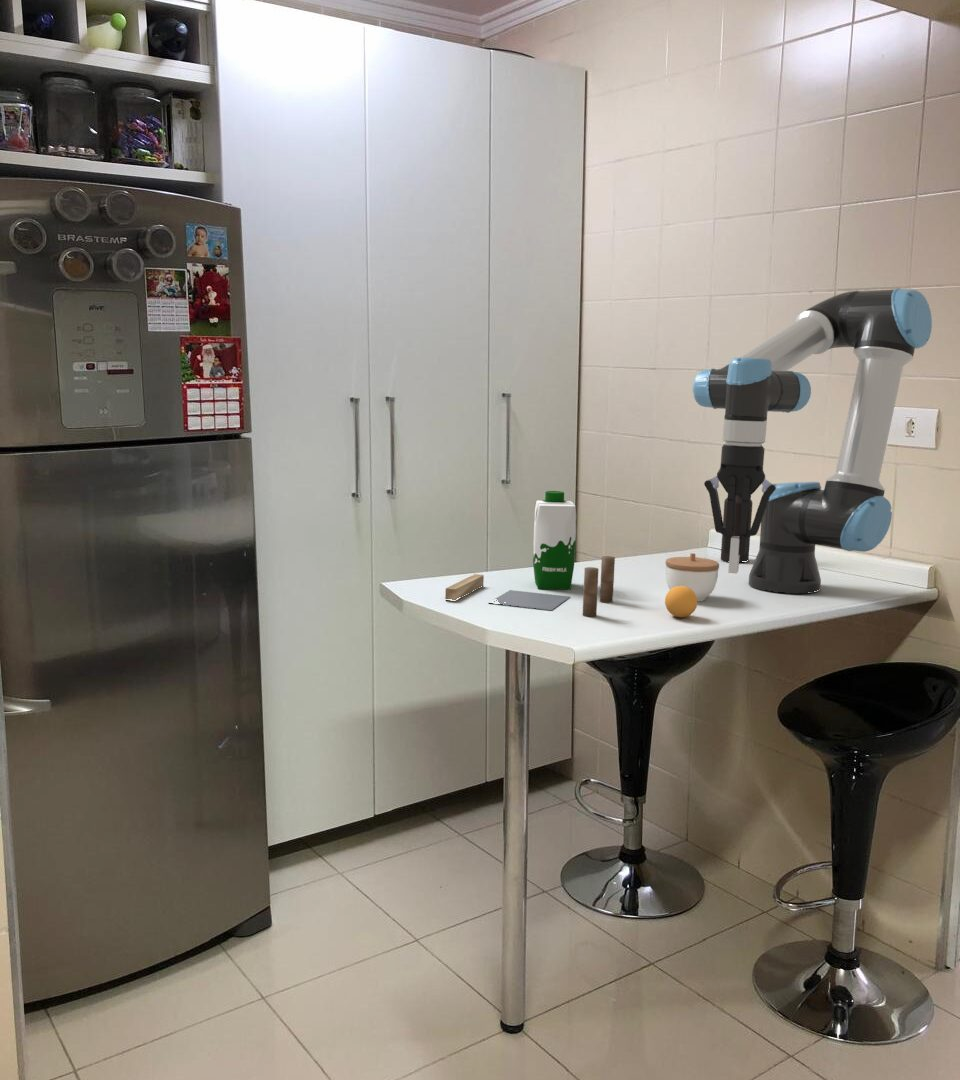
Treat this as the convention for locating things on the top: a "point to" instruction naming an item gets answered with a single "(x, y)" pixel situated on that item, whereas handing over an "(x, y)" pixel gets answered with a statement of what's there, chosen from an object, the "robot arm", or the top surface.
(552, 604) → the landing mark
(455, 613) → the top surface
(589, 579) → the post
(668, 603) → the ball
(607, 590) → the post
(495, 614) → the top surface
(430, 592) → the top surface
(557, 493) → the milk carton
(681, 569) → the lidded jar
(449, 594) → the rail
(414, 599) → the top surface
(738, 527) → the bottle
